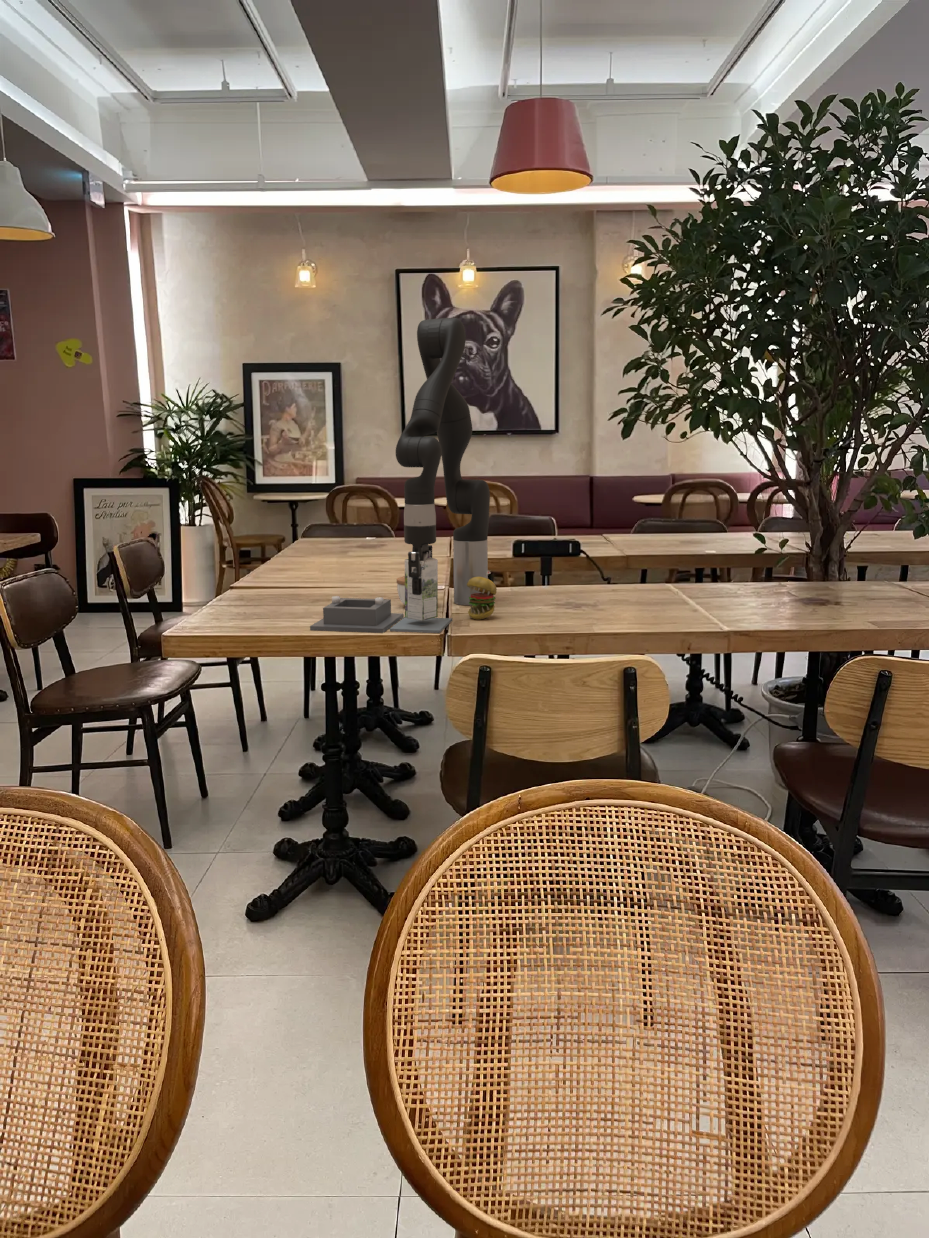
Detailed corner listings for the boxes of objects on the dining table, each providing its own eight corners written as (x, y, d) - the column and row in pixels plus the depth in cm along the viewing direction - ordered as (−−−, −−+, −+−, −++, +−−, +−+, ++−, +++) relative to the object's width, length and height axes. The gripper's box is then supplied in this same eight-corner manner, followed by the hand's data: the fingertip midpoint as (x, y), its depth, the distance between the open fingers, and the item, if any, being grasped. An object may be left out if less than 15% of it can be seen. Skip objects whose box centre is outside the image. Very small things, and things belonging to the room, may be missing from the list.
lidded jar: (389, 608, 239) (388, 573, 237) (410, 602, 248) (409, 568, 246) (424, 612, 234) (423, 576, 232) (444, 605, 243) (444, 570, 241)
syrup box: (420, 614, 221) (419, 555, 218) (438, 617, 217) (438, 557, 214) (404, 618, 217) (403, 558, 214) (423, 621, 213) (421, 560, 210)
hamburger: (460, 618, 226) (460, 570, 224) (481, 613, 231) (480, 567, 229) (482, 622, 221) (482, 574, 218) (503, 618, 226) (503, 570, 223)
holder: (335, 615, 231) (334, 590, 230) (403, 617, 227) (403, 592, 226) (310, 630, 214) (308, 603, 212) (383, 632, 210) (382, 605, 209)
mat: (405, 619, 225) (405, 616, 225) (452, 620, 223) (452, 618, 223) (389, 631, 212) (389, 628, 212) (439, 633, 210) (439, 630, 209)
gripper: (428, 526, 205) (429, 597, 208) (442, 520, 219) (443, 587, 222) (396, 526, 206) (398, 596, 210) (412, 519, 220) (413, 586, 223)
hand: (421, 591), depth 216 cm, fingers closed on syrup box, 7 cm apart
